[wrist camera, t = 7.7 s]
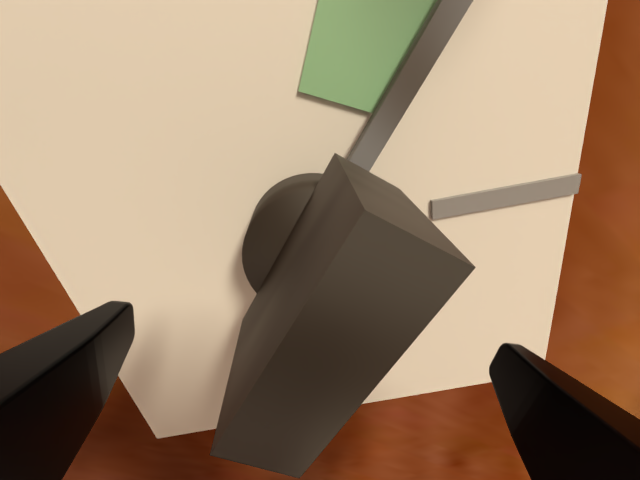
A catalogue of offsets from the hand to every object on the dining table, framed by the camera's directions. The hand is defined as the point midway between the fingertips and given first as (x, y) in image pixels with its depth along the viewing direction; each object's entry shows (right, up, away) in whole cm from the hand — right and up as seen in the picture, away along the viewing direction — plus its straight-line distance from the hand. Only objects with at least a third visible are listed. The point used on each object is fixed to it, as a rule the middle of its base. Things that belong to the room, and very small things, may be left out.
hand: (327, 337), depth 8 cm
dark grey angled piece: (+1, +5, +4) cm, 7 cm away
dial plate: (-1, +3, +7) cm, 7 cm away
